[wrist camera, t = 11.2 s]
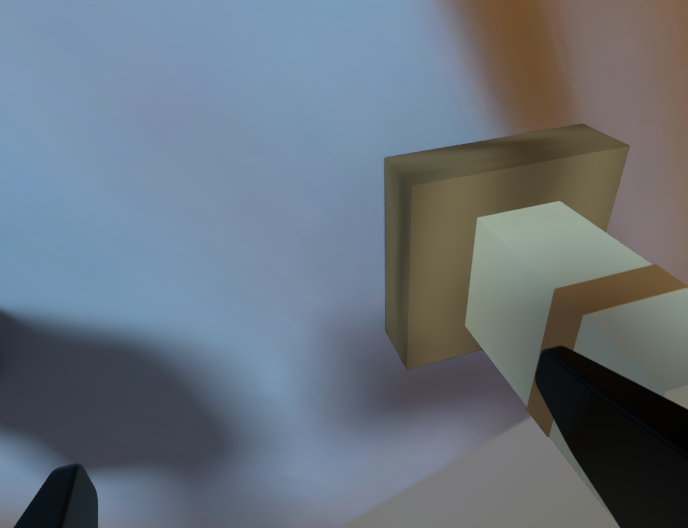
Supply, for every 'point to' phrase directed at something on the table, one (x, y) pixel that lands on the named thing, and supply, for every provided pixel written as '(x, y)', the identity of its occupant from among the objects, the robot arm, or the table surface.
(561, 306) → the carton
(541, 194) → the base
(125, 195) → the table surface
